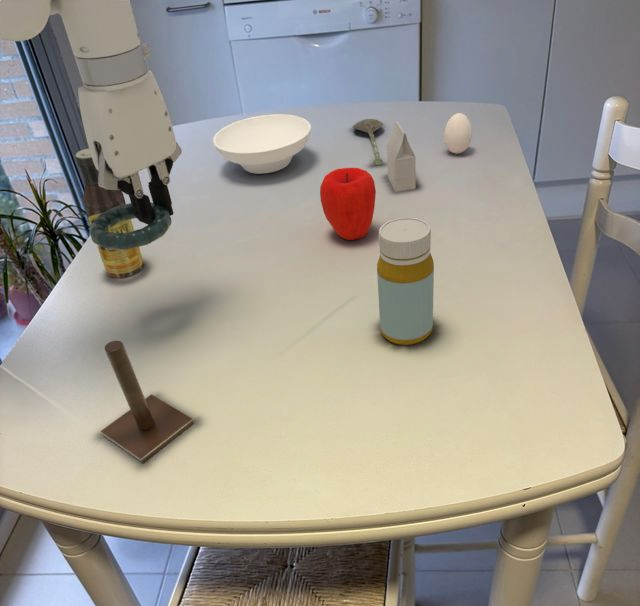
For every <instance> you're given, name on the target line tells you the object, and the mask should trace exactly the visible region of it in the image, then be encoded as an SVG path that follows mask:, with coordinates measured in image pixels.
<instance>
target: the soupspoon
mask: <svg viewBox="0 0 640 606" xmlns="http://www.w3.org/2000/svg"><path fill="white" fill-rule="evenodd" d="M382 126H384V123H383V122H382V121H381V120H379V119H375V118H366V119H365V118H364V119H361V120H359V121H357V122H356V123H355V124H353V125H352V129H356V130H358V131H362V132H365V133H367V134H368V135H369V138H370V141H371V143H372V147H373V150H374V153H373V154H374V159H373V162H372V163H373V165H374V166H381V165H382V164H383V162H384V161H383V158H381V156H380V152H379V149H378V144H377V142H376V138H375V135H374V133H375V132H376V131H377V130H379V129H380V128H381V127H382Z"/></svg>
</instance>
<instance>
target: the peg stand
mask: <svg viewBox="0 0 640 606" xmlns="http://www.w3.org/2000/svg"><path fill="white" fill-rule="evenodd" d="M104 352H105V354H106V356H107V358H108V361H109V363H110V365H111V367H112V370H113V372H114V374H115V376H116V379H117V382H118V384H119V386H120V389H121V391H122V393H123V395H124V398H125V401H126V403H127V405H128V407H129V410H128V411H126V412H125V413H123V414H122V415H121V416H119V417H118V418H117V419H115V420H114V421H112V422H111V423H109V425H107V426H105V427H104V428H103V429H102V430H100V432H101V433H102V437H103V438H105V440H107V441H109V442H111V443H112V444H114V445H115V446H116V447H117V448H119V449H121V450H122V451H124V452H125V453H126V454H127V455H129V456H131V457H132V458H133V459H135V460H137V461H138V462H139V463H141V464H145V463H146V462H148V461H149V460H150V459H152V457H154V456H155V455H157V454H158V453H159V452H161V451H162V450H163V449H164V448H165V447H167V446H168V445H169V444H171V443H172V442H173V441H174V440H176V439H177V438H178V437H179V436H180V435H182V434H183V433H185V432H186V431H187V430H188V429H189V428H191V427H192V426H193V425H195V422H194V420H193V418H192V417H190V416H189V415H187V414H185V413H184V412H183V411H181V410H178V409H177V408H175V407H173V406H172V405H171V404H168V403H167V402H165V401H163V400H162V399H160V398H158V397H156V395H153V394H150V395H148V396H147V397H146V398H145V395H144V392H143V390H142V388H141V385H140V383H139V380H138V378H137V375H136V373H135V370H134V368H133V366H132V364H131V363H132V362H131V359H130V357H129V355H128V352H127V350H126V348H125V345H124V342H122V341H121V340H112V341H109V342H107V343H106V344H105V346H104ZM138 458H139V459H138ZM140 459H141V460H140Z"/></svg>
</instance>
